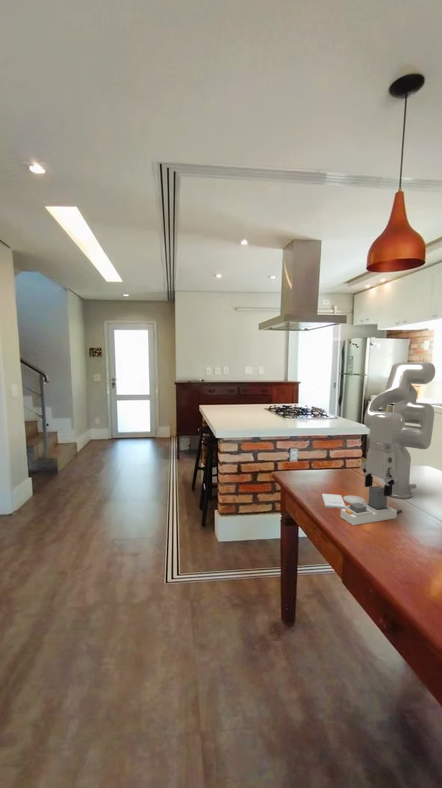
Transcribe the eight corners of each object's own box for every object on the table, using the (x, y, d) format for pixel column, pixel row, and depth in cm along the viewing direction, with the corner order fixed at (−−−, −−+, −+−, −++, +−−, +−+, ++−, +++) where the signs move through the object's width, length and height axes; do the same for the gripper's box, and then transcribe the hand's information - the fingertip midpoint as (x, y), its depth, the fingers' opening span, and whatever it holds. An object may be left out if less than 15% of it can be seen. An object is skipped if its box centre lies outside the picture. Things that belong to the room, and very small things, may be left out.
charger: (377, 505, 132) (378, 485, 132) (386, 510, 128) (387, 489, 127) (368, 506, 131) (369, 486, 130) (376, 511, 127) (378, 490, 126)
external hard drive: (341, 498, 148) (346, 510, 136) (321, 497, 150) (325, 508, 137) (341, 495, 148) (346, 506, 136) (321, 493, 149) (325, 504, 137)
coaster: (355, 495, 150) (355, 494, 150) (370, 503, 142) (370, 502, 142) (338, 497, 147) (338, 496, 147) (352, 505, 139) (352, 505, 139)
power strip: (394, 508, 137) (394, 495, 136) (408, 516, 130) (409, 502, 130) (340, 516, 129) (341, 503, 128) (352, 525, 122) (353, 511, 122)
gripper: (407, 451, 120) (404, 498, 121) (371, 441, 137) (369, 482, 138) (390, 452, 118) (387, 500, 119) (356, 442, 134) (354, 484, 135)
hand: (377, 490), depth 128 cm, fingers open, 9 cm apart
